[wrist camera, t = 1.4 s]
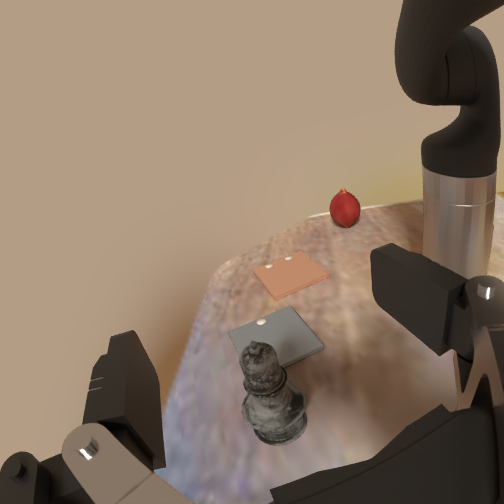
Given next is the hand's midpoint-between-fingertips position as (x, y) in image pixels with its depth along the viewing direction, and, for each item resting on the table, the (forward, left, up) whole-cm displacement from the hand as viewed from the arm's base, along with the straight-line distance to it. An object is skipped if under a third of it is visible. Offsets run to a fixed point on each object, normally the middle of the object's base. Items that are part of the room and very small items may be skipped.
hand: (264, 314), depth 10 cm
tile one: (-5, -20, -22) cm, 30 cm away
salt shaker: (-1, -9, -22) cm, 24 cm away
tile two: (-13, -32, -22) cm, 41 cm away
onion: (-29, -39, -22) cm, 53 cm away
